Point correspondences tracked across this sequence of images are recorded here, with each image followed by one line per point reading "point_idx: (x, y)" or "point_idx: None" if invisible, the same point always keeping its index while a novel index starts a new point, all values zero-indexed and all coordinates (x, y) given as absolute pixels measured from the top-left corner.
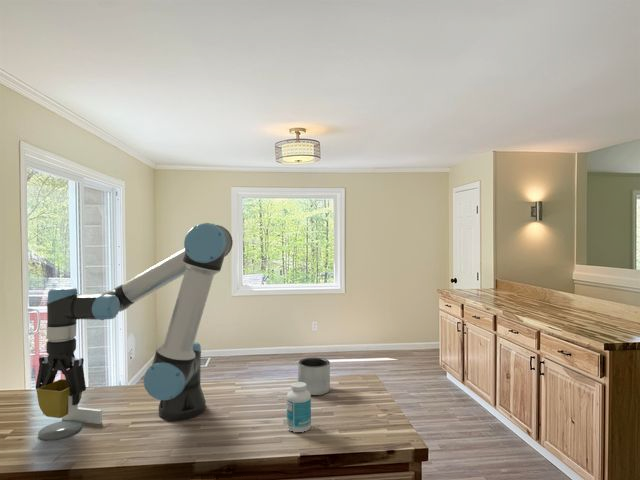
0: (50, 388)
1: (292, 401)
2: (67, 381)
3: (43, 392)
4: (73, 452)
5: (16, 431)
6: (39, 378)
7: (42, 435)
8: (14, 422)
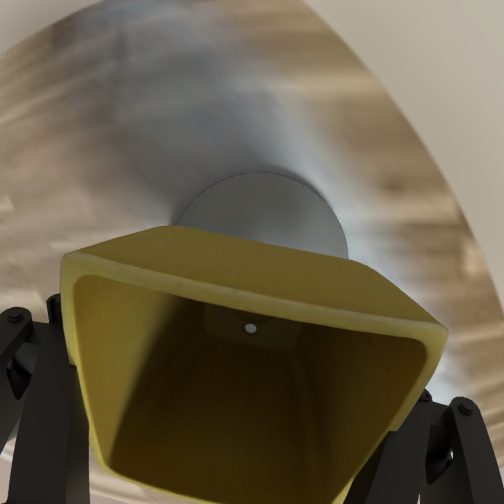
0: (356, 426)
1: None
2: (60, 420)
3: (335, 295)
4: (88, 93)
5: (448, 257)
6: (479, 476)
7: (299, 194)
8: (484, 325)
